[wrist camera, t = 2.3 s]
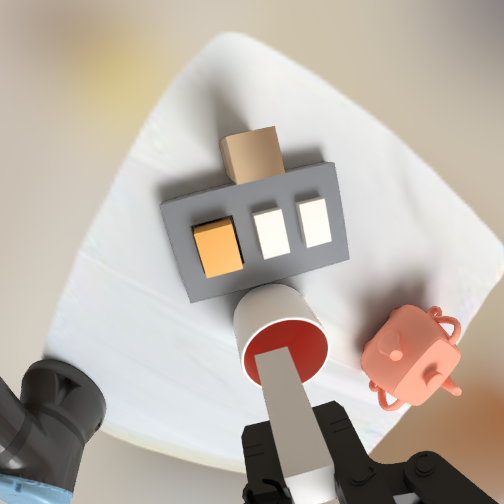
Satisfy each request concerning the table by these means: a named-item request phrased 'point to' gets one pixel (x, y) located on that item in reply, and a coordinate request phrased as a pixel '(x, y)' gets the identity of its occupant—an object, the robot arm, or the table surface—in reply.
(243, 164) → the oak post
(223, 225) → the orange rectangular block
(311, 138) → the table surface
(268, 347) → the cup
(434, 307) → the teapot
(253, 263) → the panel
